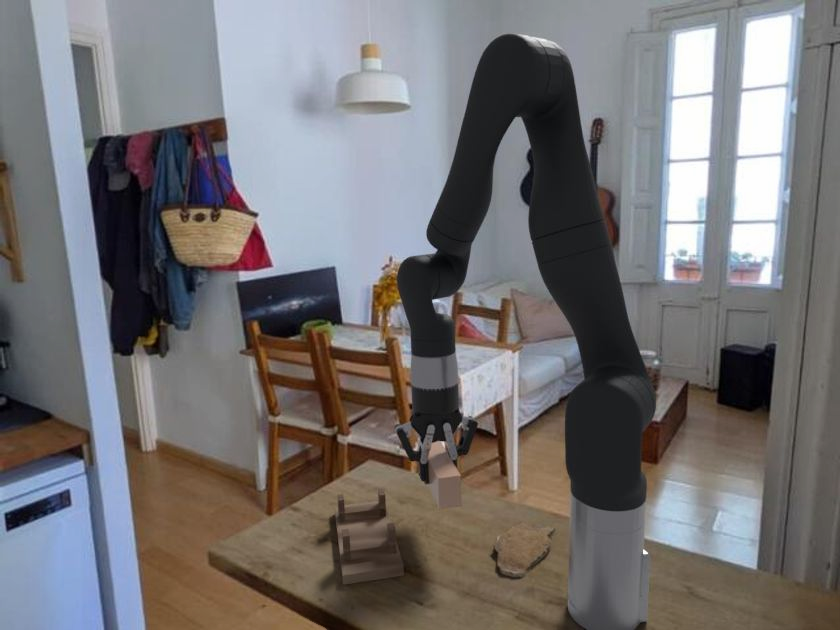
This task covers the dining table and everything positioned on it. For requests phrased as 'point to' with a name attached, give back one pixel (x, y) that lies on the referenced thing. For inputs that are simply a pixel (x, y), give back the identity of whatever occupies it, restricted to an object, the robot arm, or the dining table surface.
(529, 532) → the pottery shard
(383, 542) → the brown cradle stand
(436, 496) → the clay bar
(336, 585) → the dining table surface
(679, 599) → the dining table surface
